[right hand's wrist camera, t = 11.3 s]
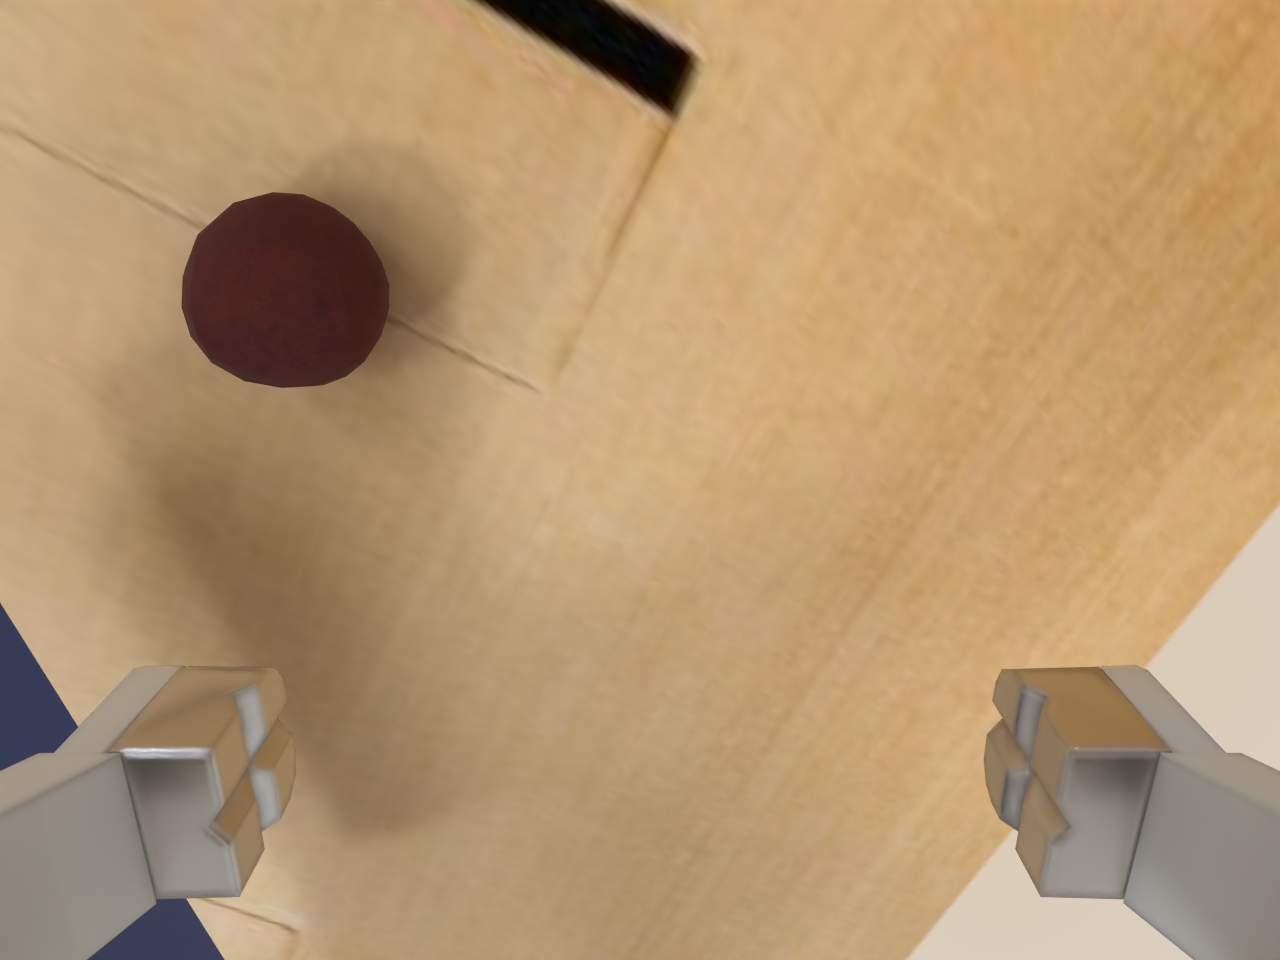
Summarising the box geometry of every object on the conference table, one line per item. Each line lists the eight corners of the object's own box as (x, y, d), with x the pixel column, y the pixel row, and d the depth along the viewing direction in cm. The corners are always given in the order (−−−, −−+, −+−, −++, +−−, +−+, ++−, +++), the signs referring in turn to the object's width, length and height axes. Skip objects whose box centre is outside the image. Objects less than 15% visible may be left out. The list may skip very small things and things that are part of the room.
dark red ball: (416, 361, 40) (373, 407, 33) (240, 365, 40) (162, 411, 33) (397, 185, 37) (345, 197, 31) (208, 189, 37) (116, 202, 31)
